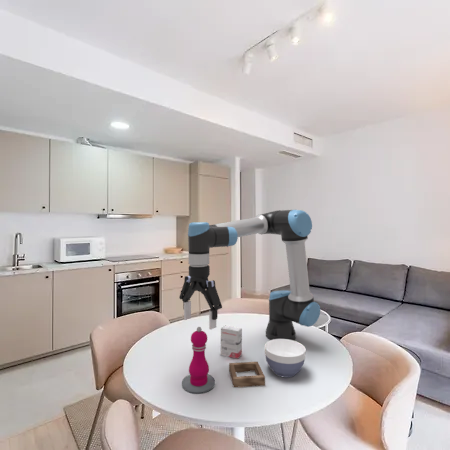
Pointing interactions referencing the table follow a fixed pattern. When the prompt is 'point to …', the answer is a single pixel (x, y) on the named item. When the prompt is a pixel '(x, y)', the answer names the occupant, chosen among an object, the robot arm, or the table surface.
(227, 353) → the ink box
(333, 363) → the table surface
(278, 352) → the bowl
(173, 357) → the table surface
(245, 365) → the collar
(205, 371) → the pepper mill
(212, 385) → the coaster
